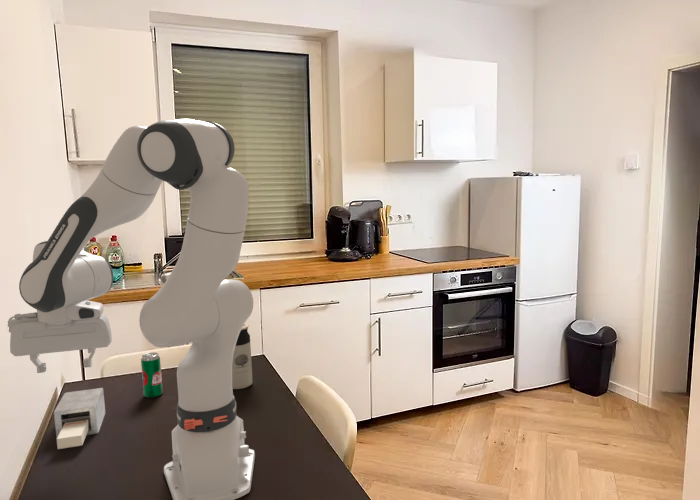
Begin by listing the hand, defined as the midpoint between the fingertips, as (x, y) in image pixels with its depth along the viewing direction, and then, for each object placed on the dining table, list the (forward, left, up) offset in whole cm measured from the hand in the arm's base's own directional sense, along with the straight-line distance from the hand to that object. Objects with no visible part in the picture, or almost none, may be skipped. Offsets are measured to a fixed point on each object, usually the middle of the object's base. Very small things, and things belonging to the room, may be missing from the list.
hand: (65, 369), depth 119 cm
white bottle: (+23, -40, -19) cm, 50 cm away
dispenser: (+10, 0, -18) cm, 21 cm away
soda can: (+24, -16, -18) cm, 34 cm away
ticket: (+4, 0, -17) cm, 17 cm away
